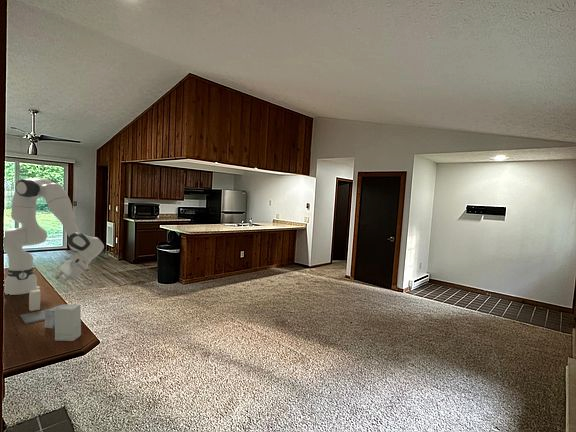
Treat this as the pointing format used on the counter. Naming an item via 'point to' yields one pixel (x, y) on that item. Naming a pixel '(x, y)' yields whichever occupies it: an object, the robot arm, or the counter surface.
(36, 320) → the mat
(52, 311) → the medicine box
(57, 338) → the skincare box
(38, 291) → the cream block
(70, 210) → the robot arm
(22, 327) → the counter surface
